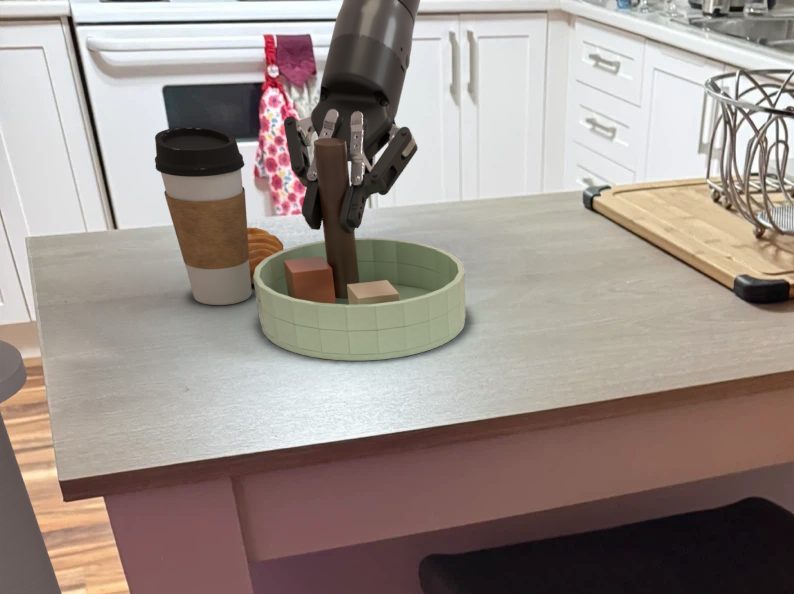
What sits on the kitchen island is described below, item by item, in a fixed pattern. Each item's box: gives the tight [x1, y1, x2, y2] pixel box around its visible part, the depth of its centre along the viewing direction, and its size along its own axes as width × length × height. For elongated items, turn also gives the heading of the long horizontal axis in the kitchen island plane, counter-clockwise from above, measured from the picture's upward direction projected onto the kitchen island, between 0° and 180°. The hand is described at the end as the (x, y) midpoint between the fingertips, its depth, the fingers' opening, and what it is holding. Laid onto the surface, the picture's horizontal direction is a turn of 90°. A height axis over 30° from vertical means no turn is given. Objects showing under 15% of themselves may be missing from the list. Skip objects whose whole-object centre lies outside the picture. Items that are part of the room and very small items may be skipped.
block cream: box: [347, 280, 400, 305], centre depth 100 cm, size 4×4×4 cm
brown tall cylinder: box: [313, 138, 359, 299], centre depth 102 cm, size 3×3×14 cm
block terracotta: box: [284, 256, 336, 304], centre depth 105 cm, size 4×4×4 cm
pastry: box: [247, 227, 284, 285], centre depth 113 cm, size 9×7×4 cm
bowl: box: [253, 237, 467, 362], centre depth 103 cm, size 20×20×5 cm
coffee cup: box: [154, 126, 253, 306], centre depth 104 cm, size 8×8×15 cm
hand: (329, 226), depth 101 cm, fingers closed on brown tall cylinder, 3 cm apart
